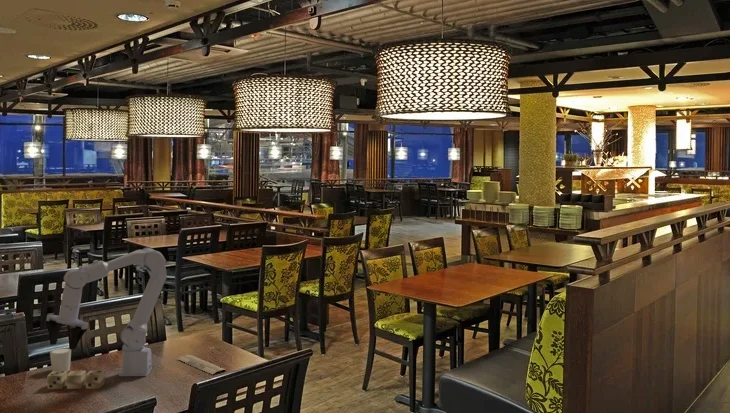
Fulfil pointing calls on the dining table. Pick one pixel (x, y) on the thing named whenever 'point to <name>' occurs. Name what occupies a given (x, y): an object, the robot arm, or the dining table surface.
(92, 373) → the dotted block two
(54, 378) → the dotted block three
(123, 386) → the dining table surface
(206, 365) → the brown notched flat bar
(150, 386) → the dining table surface
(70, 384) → the plain block
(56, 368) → the cream short cylinder
